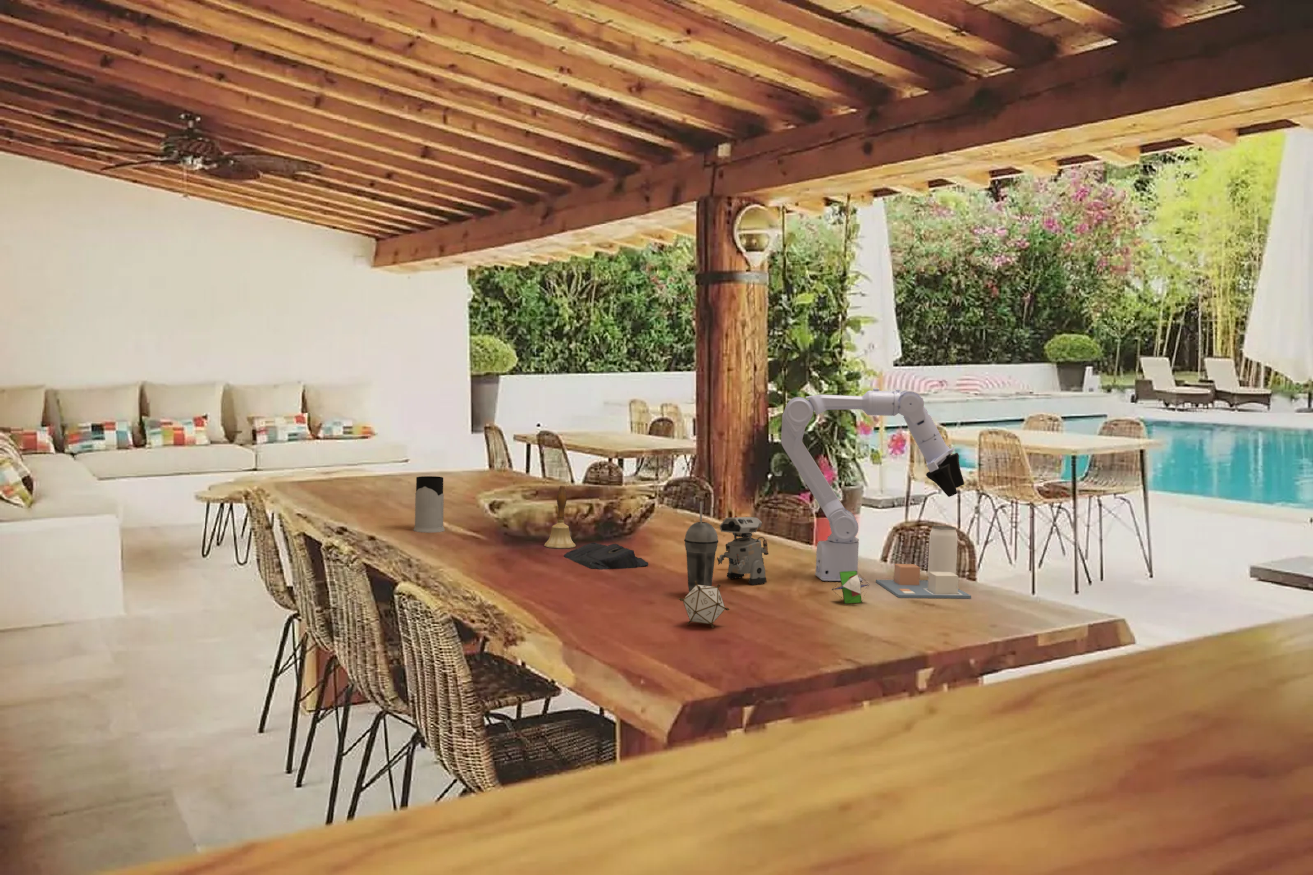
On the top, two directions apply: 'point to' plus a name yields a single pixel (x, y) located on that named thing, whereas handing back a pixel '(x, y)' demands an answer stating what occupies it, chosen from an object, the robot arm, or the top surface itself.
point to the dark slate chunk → (605, 557)
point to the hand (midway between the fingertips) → (956, 490)
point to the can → (942, 549)
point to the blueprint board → (917, 590)
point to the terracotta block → (907, 574)
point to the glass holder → (429, 504)
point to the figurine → (744, 549)
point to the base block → (943, 583)
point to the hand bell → (560, 525)
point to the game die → (704, 604)
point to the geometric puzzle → (850, 587)
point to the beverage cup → (700, 552)
